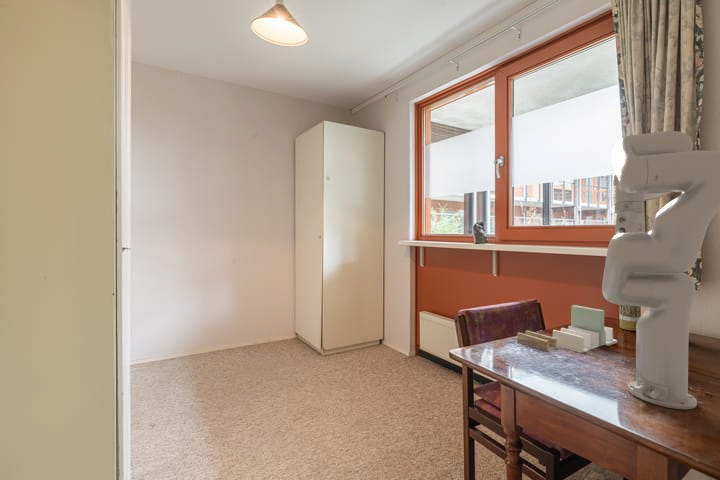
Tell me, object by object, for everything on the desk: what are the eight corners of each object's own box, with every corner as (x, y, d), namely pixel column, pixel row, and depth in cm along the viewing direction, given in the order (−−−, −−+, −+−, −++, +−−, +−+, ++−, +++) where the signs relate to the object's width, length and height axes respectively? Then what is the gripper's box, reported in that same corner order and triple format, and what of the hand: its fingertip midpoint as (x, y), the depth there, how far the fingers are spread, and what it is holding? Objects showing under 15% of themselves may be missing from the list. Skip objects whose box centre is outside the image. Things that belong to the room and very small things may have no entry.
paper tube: (641, 329, 139) (641, 269, 138) (640, 332, 134) (640, 271, 133) (620, 325, 143) (621, 268, 143) (618, 329, 138) (619, 269, 138)
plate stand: (547, 353, 111) (547, 342, 111) (515, 343, 121) (515, 332, 121) (559, 350, 114) (559, 338, 114) (526, 340, 125) (526, 329, 125)
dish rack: (580, 355, 109) (581, 339, 109) (548, 345, 119) (548, 330, 118) (617, 342, 121) (617, 327, 121) (584, 334, 131) (584, 321, 131)
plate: (600, 345, 116) (601, 311, 116) (570, 337, 125) (571, 305, 125) (604, 343, 117) (604, 310, 117) (574, 336, 126) (574, 305, 126)
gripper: (631, 205, 101) (631, 261, 101) (654, 208, 109) (654, 260, 110) (603, 207, 107) (603, 260, 107) (627, 210, 116) (626, 258, 116)
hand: (628, 260), depth 108 cm, fingers open, 9 cm apart
